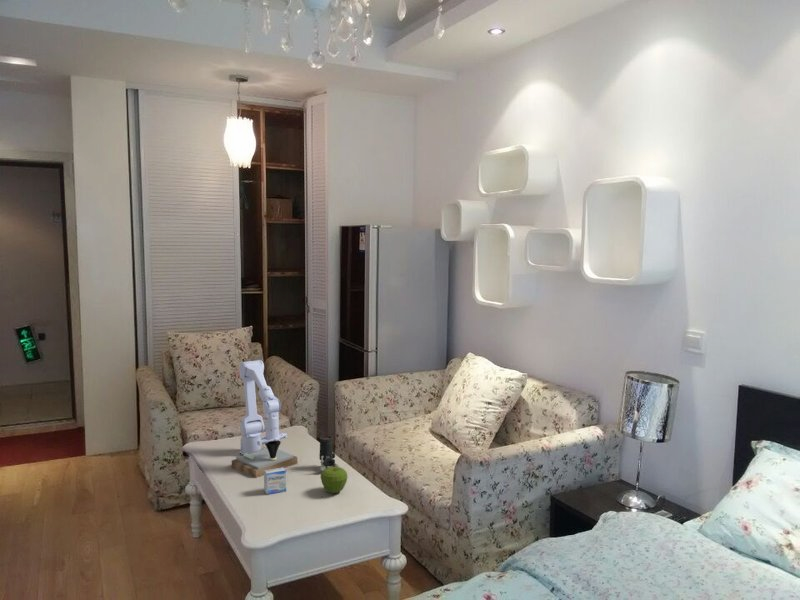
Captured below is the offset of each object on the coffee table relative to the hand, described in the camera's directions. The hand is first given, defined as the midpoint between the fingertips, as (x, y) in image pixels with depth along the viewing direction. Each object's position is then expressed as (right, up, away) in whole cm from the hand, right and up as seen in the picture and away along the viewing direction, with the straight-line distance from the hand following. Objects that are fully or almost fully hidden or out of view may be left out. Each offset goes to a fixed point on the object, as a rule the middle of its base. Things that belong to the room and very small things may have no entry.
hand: (272, 457), depth 265 cm
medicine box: (+6, -8, -23) cm, 25 cm away
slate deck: (-4, -1, +4) cm, 6 cm away
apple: (+29, -8, -24) cm, 38 cm away
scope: (+23, -5, 0) cm, 24 cm away
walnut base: (-5, -5, +4) cm, 8 cm away
